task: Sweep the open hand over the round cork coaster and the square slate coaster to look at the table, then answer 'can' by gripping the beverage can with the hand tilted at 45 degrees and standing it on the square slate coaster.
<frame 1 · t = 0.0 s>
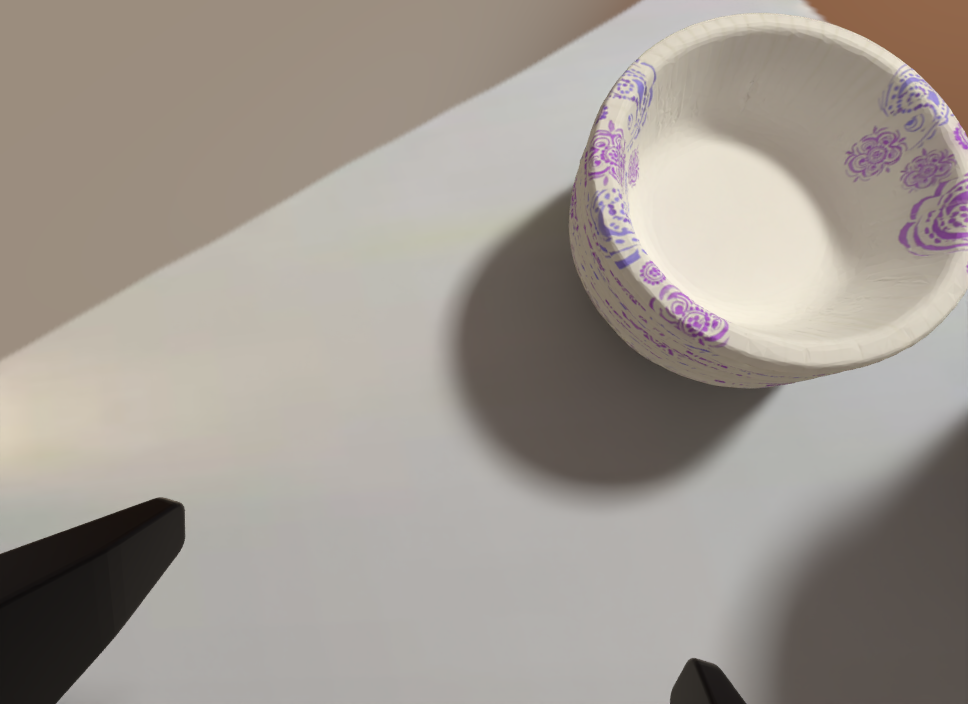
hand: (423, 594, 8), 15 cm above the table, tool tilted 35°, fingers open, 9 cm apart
paper bowls: (697, 258, 25), on the table
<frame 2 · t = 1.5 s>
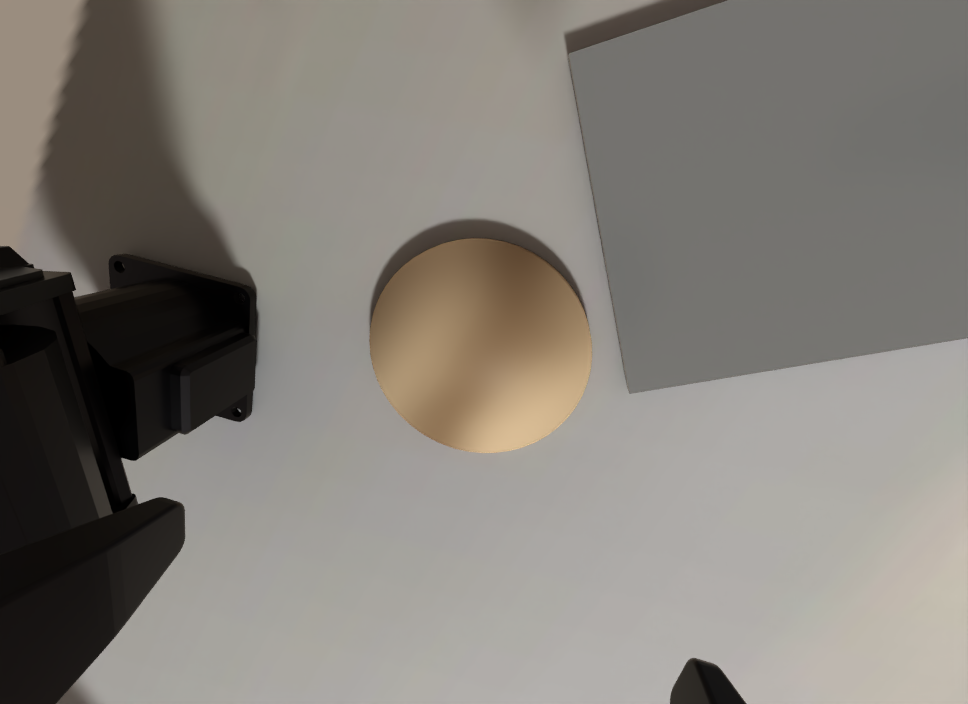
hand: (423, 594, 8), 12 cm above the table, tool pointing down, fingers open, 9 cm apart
slate coaster: (781, 196, 16), on the table
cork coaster: (479, 349, 19), on the table
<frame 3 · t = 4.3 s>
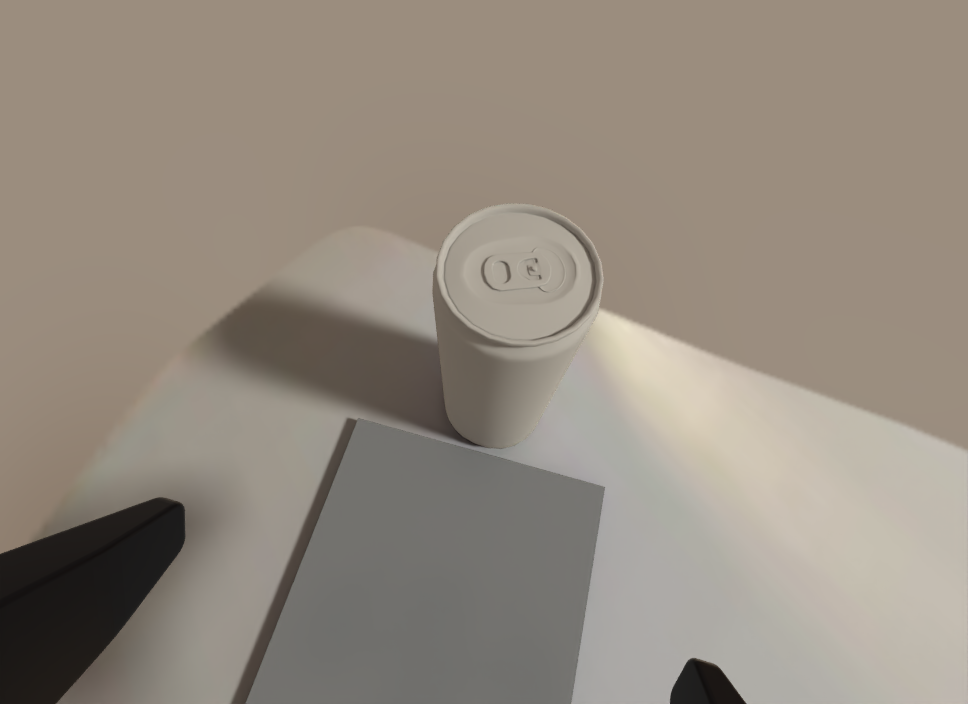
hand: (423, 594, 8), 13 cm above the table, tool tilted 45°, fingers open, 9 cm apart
slate coaster: (441, 589, 20), on the table
beverage can: (492, 405, 24), on the table
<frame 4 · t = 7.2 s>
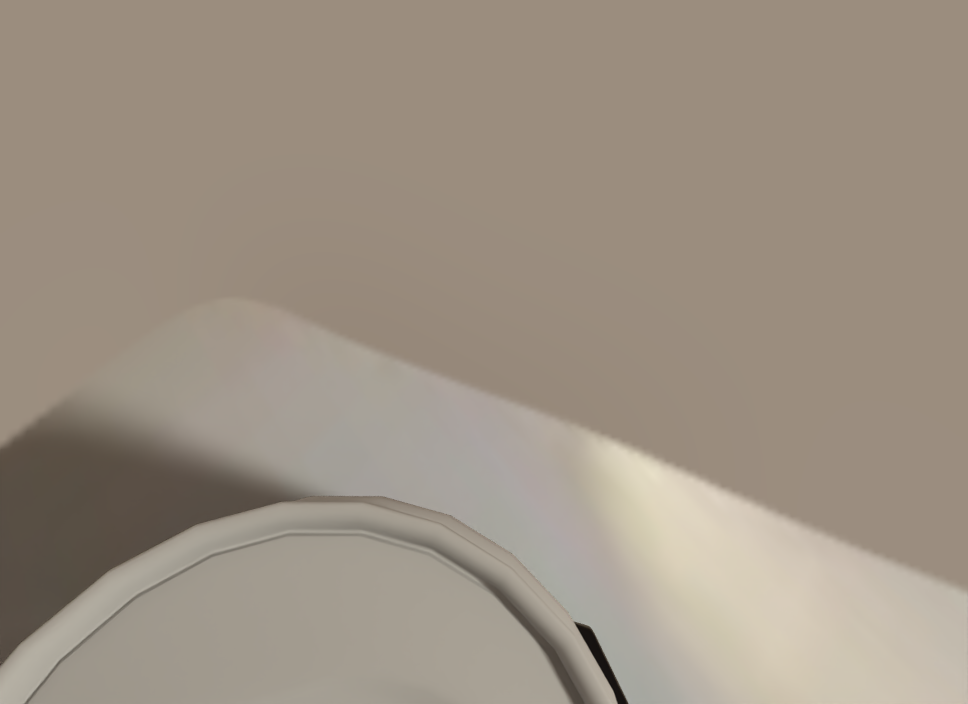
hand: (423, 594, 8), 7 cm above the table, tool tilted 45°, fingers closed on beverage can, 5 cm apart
beverage can: (425, 630, 14), on the table, touching gripper
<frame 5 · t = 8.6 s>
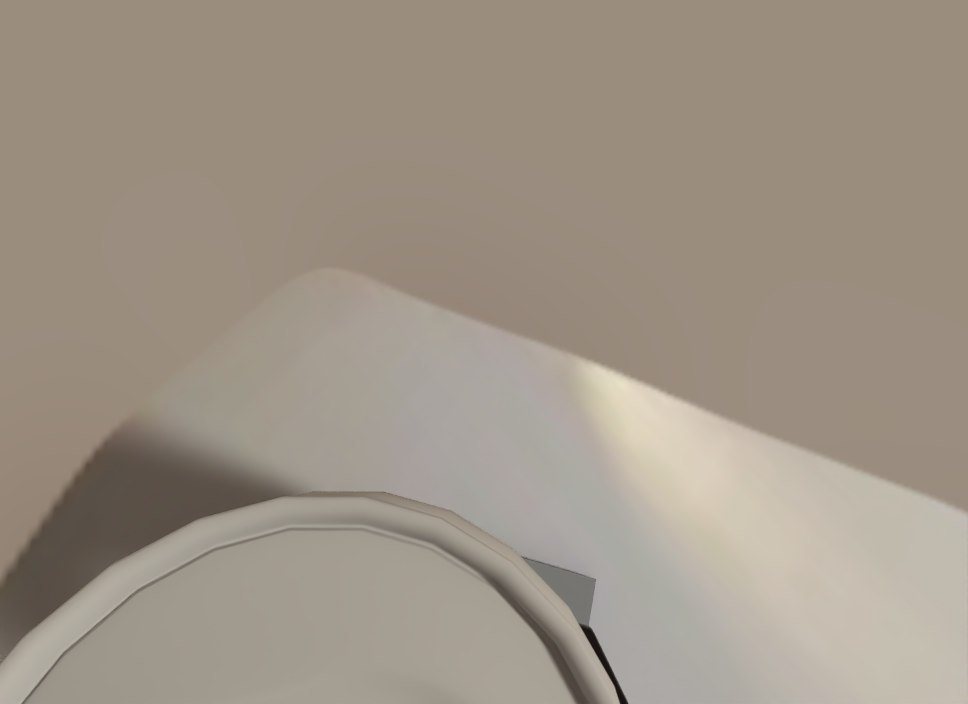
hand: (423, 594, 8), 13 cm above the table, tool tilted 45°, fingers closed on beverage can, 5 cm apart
slate coaster: (411, 701, 18), on the table
beverage can: (426, 628, 14), point 6 cm above the table, touching gripper
when the fingers open (8 cm above the table, at t = 10.2 s): beverage can stays where it is, resting on slate coaster.
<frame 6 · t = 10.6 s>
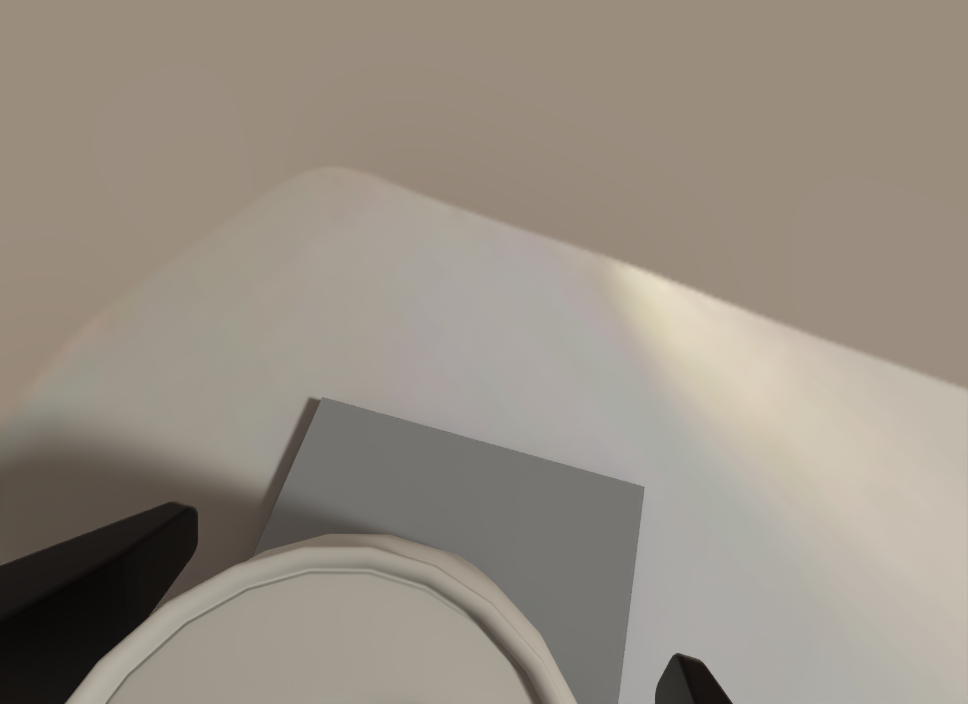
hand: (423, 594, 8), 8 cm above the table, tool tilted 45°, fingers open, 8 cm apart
slate coaster: (428, 624, 15), on the table
beverage can: (426, 633, 14), resting on slate coaster
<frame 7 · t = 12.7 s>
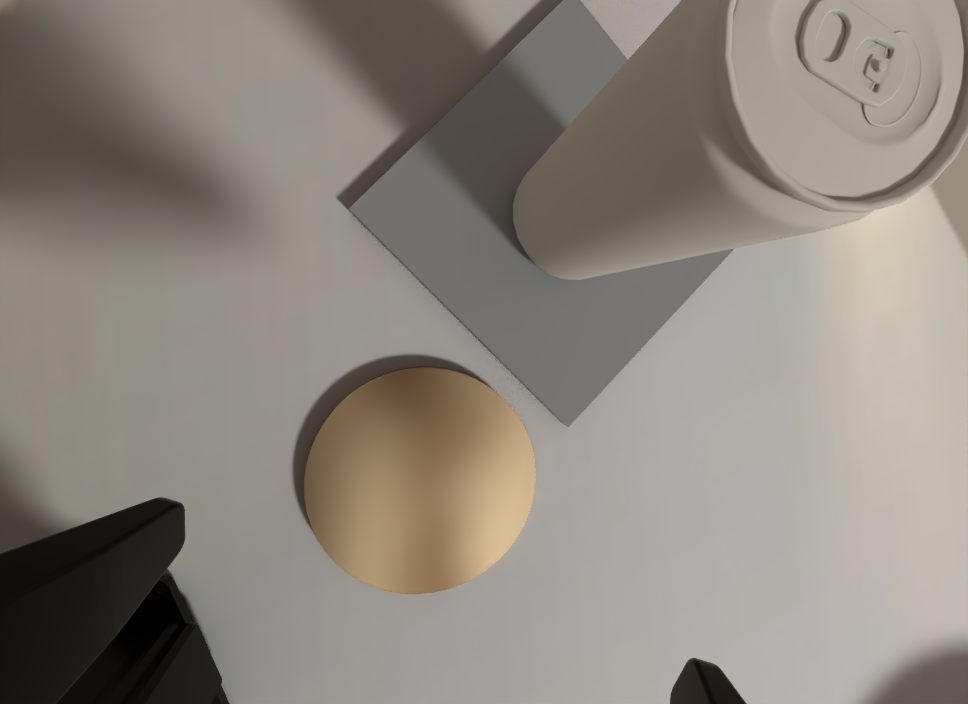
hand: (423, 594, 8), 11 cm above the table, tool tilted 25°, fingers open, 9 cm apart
slate coaster: (565, 219, 19), on the table
beverage can: (565, 221, 19), resting on slate coaster
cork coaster: (424, 477, 19), on the table
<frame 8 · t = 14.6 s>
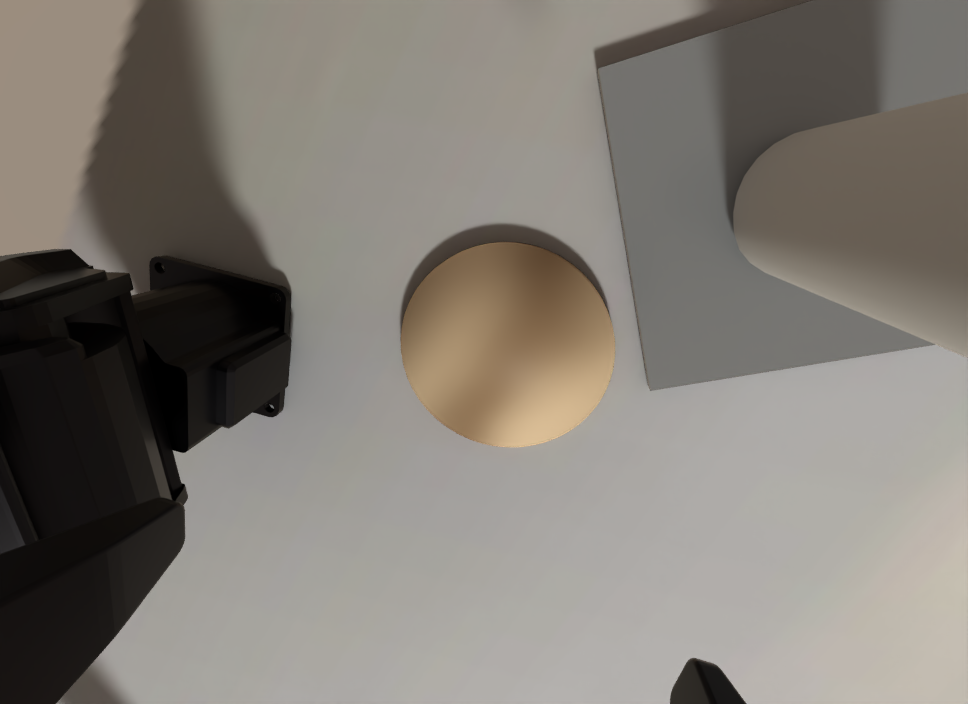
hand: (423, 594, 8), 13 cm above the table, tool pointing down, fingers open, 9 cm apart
slate coaster: (797, 203, 17), on the table
beverage can: (797, 205, 16), resting on slate coaster
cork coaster: (505, 348, 20), on the table
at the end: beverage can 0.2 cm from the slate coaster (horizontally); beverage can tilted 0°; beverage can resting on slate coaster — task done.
